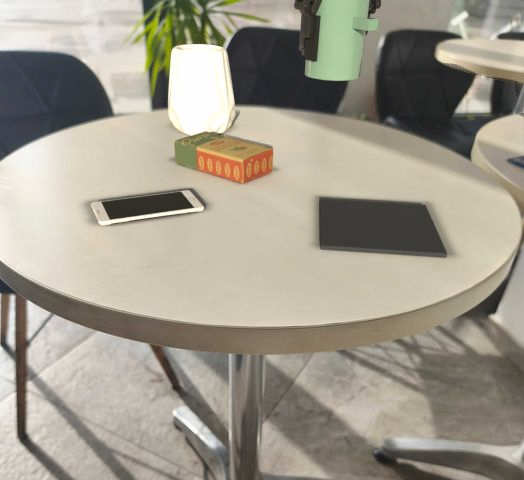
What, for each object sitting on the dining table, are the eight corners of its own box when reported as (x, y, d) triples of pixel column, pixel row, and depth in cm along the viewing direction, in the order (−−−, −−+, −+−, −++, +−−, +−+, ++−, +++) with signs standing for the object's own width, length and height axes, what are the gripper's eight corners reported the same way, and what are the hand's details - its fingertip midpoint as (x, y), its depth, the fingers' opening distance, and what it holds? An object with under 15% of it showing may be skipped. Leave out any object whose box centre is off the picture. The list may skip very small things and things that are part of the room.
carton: (242, 185, 81) (242, 158, 78) (174, 163, 88) (171, 138, 86) (273, 172, 86) (274, 147, 83) (206, 153, 94) (205, 129, 91)
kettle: (386, 81, 87) (402, -23, 78) (343, 86, 82) (356, -24, 73) (322, 66, 98) (330, -27, 89) (281, 69, 93) (286, -28, 84)
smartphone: (205, 207, 71) (99, 222, 66) (205, 211, 72) (99, 226, 67) (189, 189, 77) (90, 202, 72) (189, 193, 77) (90, 206, 72)
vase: (182, 118, 113) (176, 40, 103) (242, 123, 111) (242, 45, 101) (159, 135, 102) (151, 50, 92) (226, 141, 100) (224, 54, 90)
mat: (424, 208, 75) (425, 204, 75) (446, 257, 63) (447, 253, 62) (319, 202, 76) (320, 198, 76) (320, 249, 64) (320, 245, 63)
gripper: (386, -104, 82) (365, 51, 96) (275, -117, 72) (270, 59, 86) (420, -107, 77) (393, 57, 91) (307, -122, 67) (296, 65, 81)
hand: (333, 58), depth 88 cm, fingers closed on kettle, 10 cm apart
